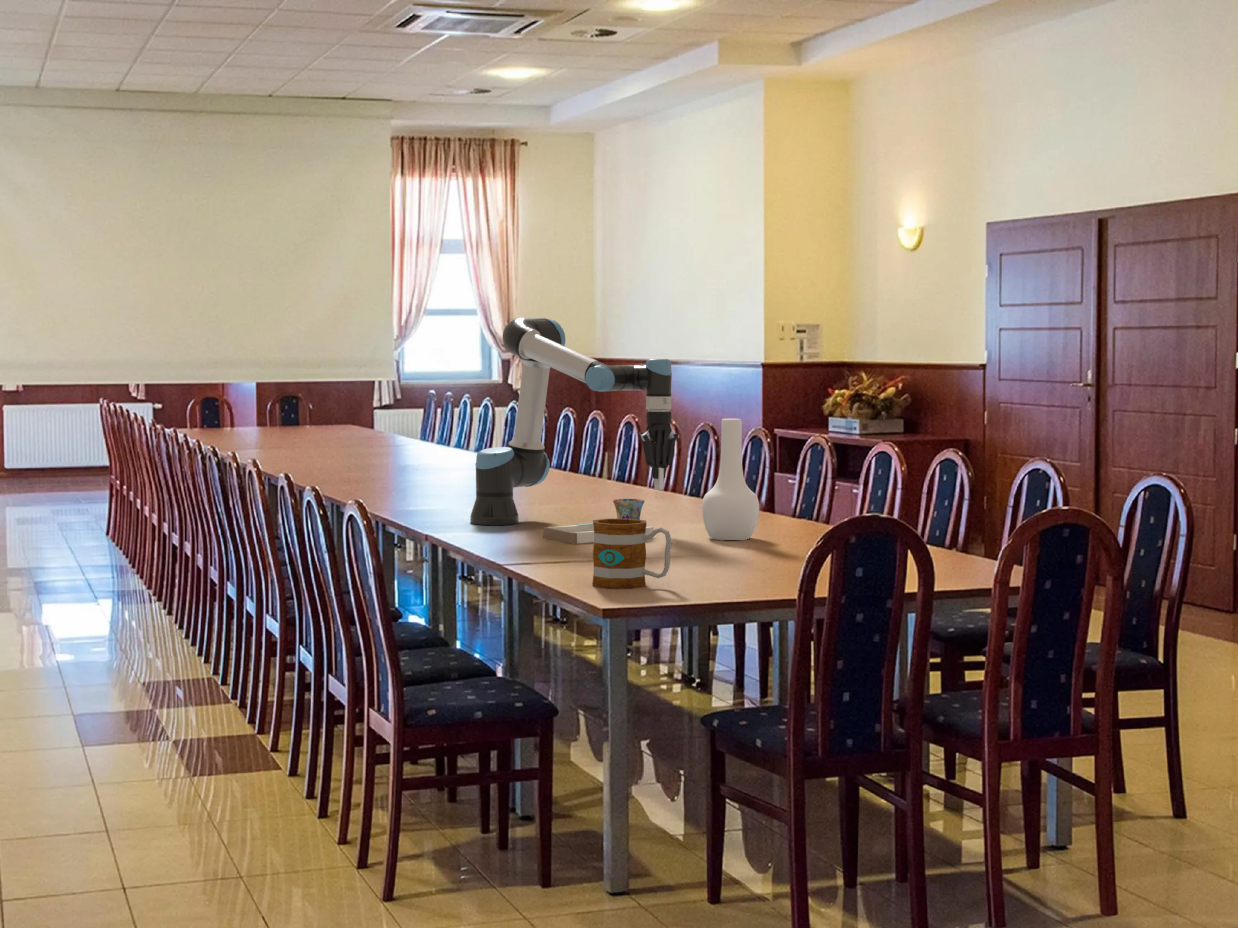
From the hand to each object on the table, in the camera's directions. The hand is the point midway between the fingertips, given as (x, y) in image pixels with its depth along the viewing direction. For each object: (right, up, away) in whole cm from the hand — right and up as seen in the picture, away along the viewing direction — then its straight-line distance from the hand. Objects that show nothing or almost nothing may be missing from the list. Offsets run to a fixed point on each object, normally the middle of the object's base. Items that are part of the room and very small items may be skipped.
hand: (658, 489), depth 476 cm
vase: (+21, -14, -11) cm, 27 cm away
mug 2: (-9, -21, -102) cm, 104 cm away
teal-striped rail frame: (-18, -14, -11) cm, 25 cm away
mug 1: (-9, -14, -5) cm, 17 cm away
